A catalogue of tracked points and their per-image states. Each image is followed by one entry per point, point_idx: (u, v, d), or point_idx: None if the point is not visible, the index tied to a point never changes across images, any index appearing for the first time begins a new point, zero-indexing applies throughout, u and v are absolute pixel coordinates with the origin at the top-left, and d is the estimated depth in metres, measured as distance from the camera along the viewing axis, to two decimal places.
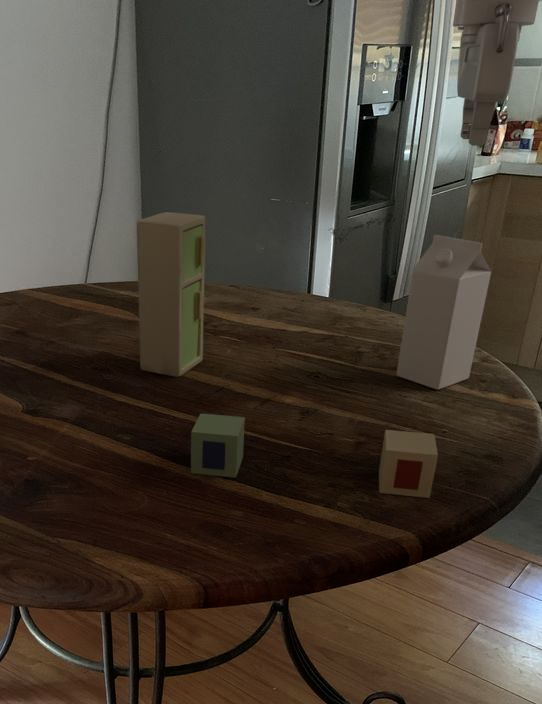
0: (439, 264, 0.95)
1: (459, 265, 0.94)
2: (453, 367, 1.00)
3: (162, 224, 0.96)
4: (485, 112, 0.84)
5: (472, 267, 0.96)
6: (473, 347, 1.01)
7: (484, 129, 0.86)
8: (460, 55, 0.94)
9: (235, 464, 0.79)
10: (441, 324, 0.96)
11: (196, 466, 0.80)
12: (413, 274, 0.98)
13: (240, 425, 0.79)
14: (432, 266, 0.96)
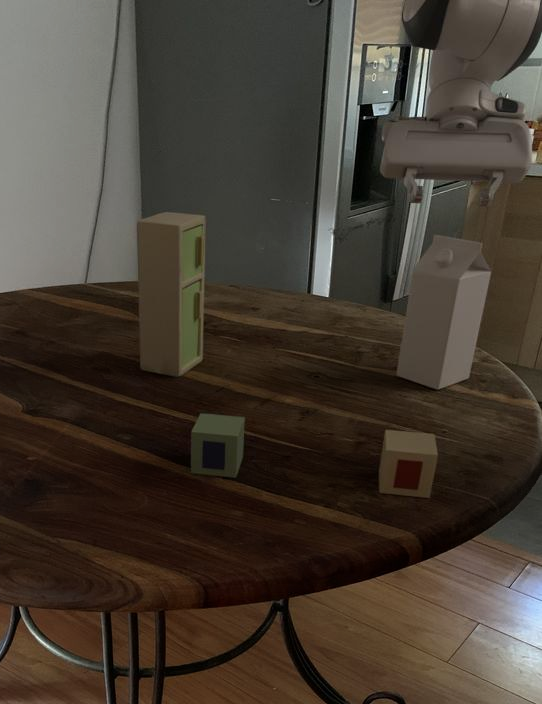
0: (439, 264, 0.95)
1: (459, 265, 0.94)
2: (453, 367, 1.00)
3: (162, 224, 0.96)
4: (405, 178, 1.05)
5: (472, 267, 0.96)
6: (473, 347, 1.01)
7: (412, 187, 1.04)
8: None
9: (235, 464, 0.79)
10: (441, 324, 0.96)
11: (196, 466, 0.80)
12: (413, 274, 0.98)
13: (240, 425, 0.79)
14: (432, 266, 0.96)
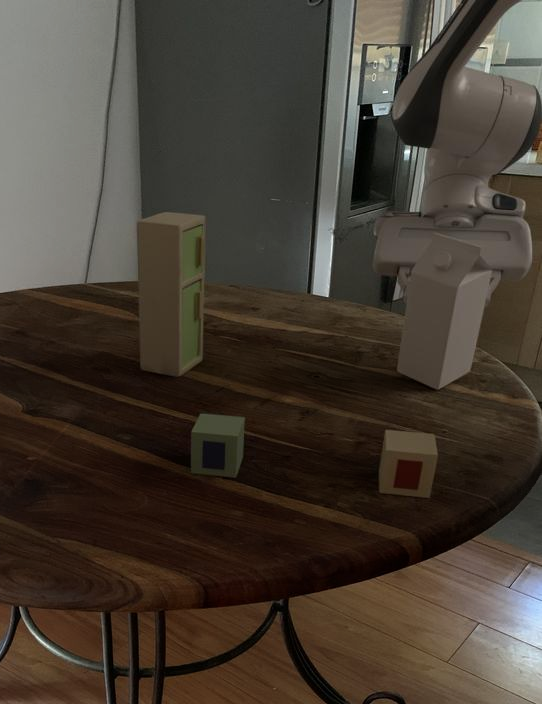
0: (437, 268, 0.92)
1: (458, 270, 0.91)
2: (453, 366, 0.99)
3: (162, 224, 0.96)
4: (398, 276, 1.01)
5: (473, 266, 0.94)
6: (474, 343, 1.00)
7: (405, 287, 1.00)
8: None
9: (235, 464, 0.79)
10: (440, 328, 0.95)
11: (196, 466, 0.80)
12: (411, 276, 0.95)
13: (240, 425, 0.79)
14: (431, 269, 0.93)
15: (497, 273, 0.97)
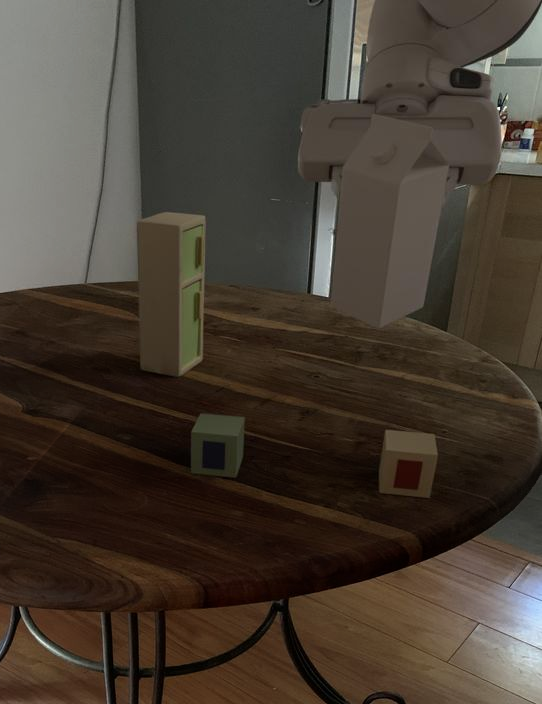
0: (375, 160, 0.69)
1: (401, 161, 0.68)
2: (399, 298, 0.76)
3: (162, 224, 0.96)
4: (332, 180, 0.77)
5: (423, 160, 0.70)
6: (427, 268, 0.77)
7: (340, 193, 0.76)
8: None
9: (235, 464, 0.79)
10: (379, 243, 0.72)
11: (196, 466, 0.80)
12: (343, 173, 0.72)
13: (240, 425, 0.79)
14: (367, 162, 0.70)
15: (454, 172, 0.74)
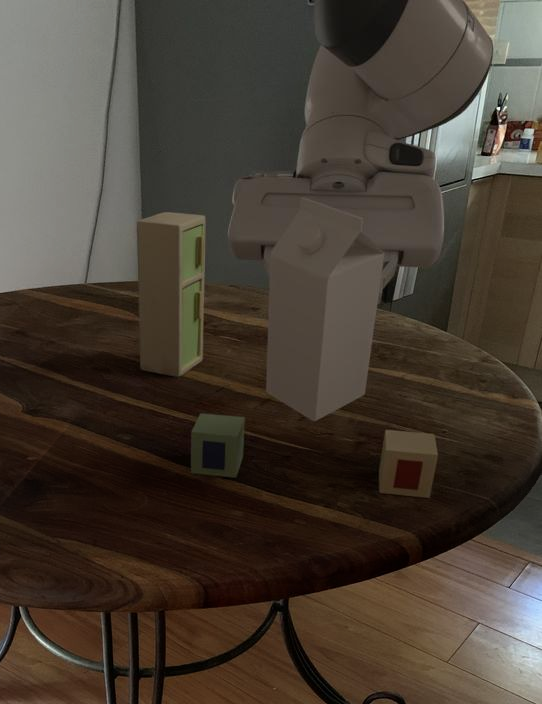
0: (303, 249, 0.63)
1: (330, 253, 0.62)
2: (336, 389, 0.71)
3: (162, 224, 0.96)
4: (264, 261, 0.72)
5: (357, 248, 0.64)
6: (366, 356, 0.71)
7: None
8: None
9: (235, 464, 0.79)
10: (310, 335, 0.66)
11: (196, 466, 0.80)
12: (271, 260, 0.66)
13: (240, 425, 0.79)
14: (295, 250, 0.64)
15: (393, 255, 0.68)
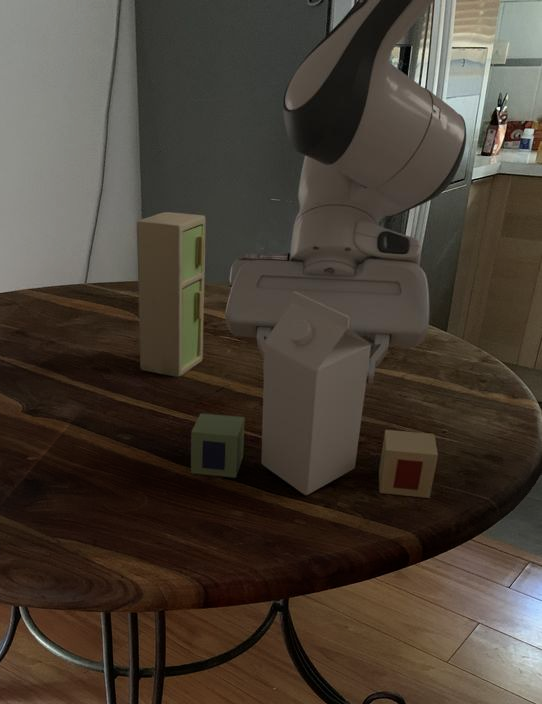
0: (294, 342, 0.68)
1: (319, 346, 0.66)
2: (326, 466, 0.75)
3: (162, 224, 0.96)
4: (257, 340, 0.76)
5: (345, 339, 0.69)
6: (356, 435, 0.75)
7: None
8: None
9: (235, 464, 0.79)
10: (302, 419, 0.71)
11: (196, 466, 0.80)
12: (265, 348, 0.71)
13: (240, 425, 0.79)
14: (287, 341, 0.69)
15: (384, 338, 0.72)
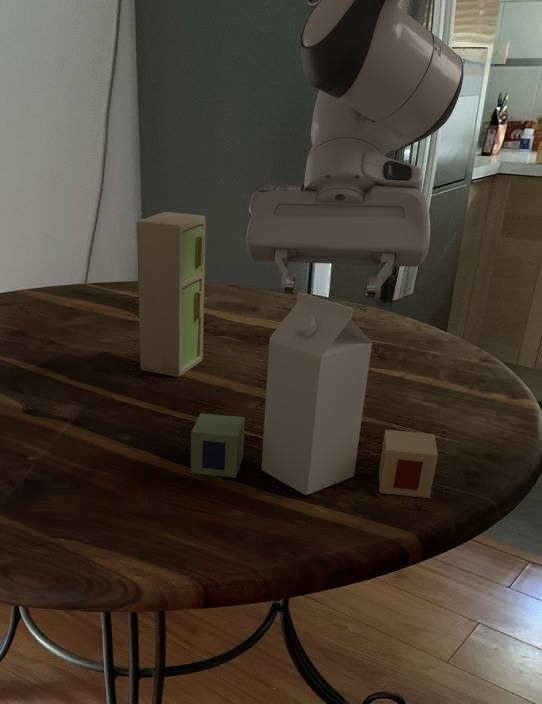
0: (299, 334, 0.70)
1: (323, 337, 0.69)
2: (327, 466, 0.75)
3: (162, 224, 0.96)
4: (275, 262, 0.84)
5: (347, 337, 0.72)
6: (356, 438, 0.76)
7: (281, 274, 0.83)
8: None
9: (235, 464, 0.79)
10: (304, 412, 0.72)
11: (196, 466, 0.80)
12: (270, 344, 0.73)
13: (240, 425, 0.79)
14: (292, 335, 0.71)
15: (390, 257, 0.80)
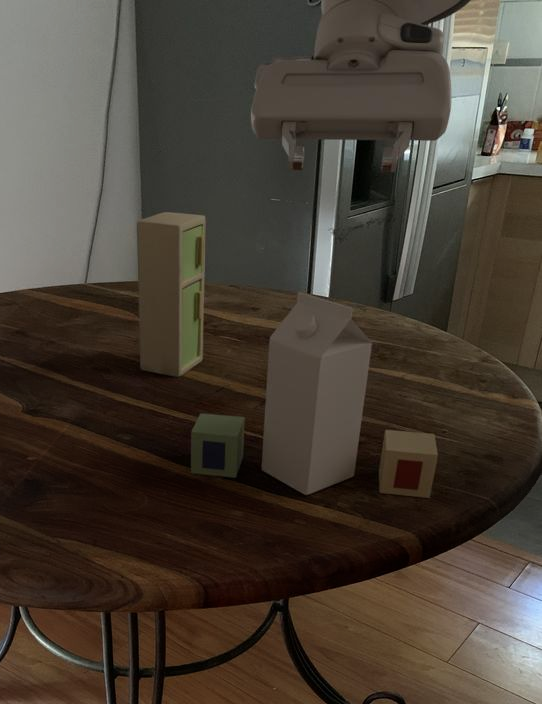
0: (299, 334, 0.70)
1: (323, 337, 0.69)
2: (327, 466, 0.75)
3: (162, 224, 0.96)
4: (282, 136, 0.77)
5: (347, 337, 0.72)
6: (356, 438, 0.76)
7: (289, 148, 0.77)
8: None
9: (235, 464, 0.79)
10: (304, 412, 0.72)
11: (196, 466, 0.80)
12: (270, 344, 0.73)
13: (240, 425, 0.79)
14: (292, 335, 0.71)
15: (407, 126, 0.74)
